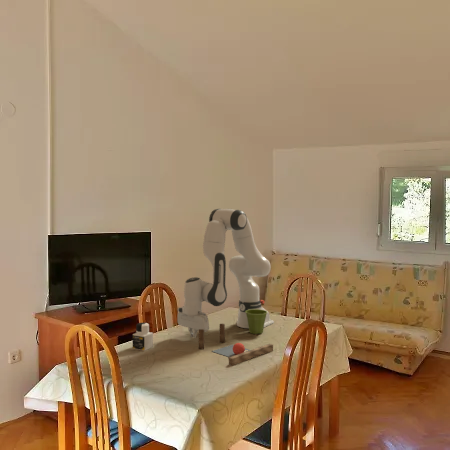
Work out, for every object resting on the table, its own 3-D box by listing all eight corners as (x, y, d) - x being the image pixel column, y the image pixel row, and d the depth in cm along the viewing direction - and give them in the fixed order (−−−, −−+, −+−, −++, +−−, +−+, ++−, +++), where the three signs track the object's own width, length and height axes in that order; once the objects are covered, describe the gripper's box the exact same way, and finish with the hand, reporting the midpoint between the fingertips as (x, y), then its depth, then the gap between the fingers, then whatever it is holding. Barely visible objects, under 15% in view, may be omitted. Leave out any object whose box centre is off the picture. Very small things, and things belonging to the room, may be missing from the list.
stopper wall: (269, 349, 238) (269, 343, 238) (273, 350, 237) (273, 344, 237) (228, 364, 218) (228, 357, 218) (232, 365, 217) (232, 358, 217)
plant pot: (268, 335, 262) (268, 314, 261) (245, 335, 262) (245, 314, 261) (266, 329, 274) (266, 309, 273) (245, 329, 274) (245, 309, 273)
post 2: (222, 340, 253) (222, 323, 252) (225, 342, 251) (225, 324, 250) (218, 342, 251) (218, 324, 250) (222, 343, 249) (222, 325, 249)
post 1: (201, 347, 243) (201, 328, 242) (205, 348, 241) (205, 329, 240) (197, 348, 241) (197, 330, 240) (201, 349, 239) (201, 331, 238)
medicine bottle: (132, 348, 241) (131, 324, 240) (141, 344, 247) (141, 320, 246) (144, 351, 237) (144, 326, 236) (153, 346, 244) (153, 322, 243)
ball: (238, 352, 235) (236, 340, 234) (247, 353, 231) (246, 341, 231) (231, 356, 230) (229, 344, 230) (240, 357, 227) (239, 345, 227)
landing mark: (232, 345, 246) (232, 344, 246) (253, 351, 236) (253, 350, 236) (211, 351, 236) (211, 351, 236) (233, 358, 226) (233, 358, 226)
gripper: (211, 312, 249) (212, 339, 249) (184, 305, 263) (184, 331, 264) (202, 314, 244) (202, 342, 245) (175, 307, 258) (175, 334, 259)
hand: (193, 336), depth 254 cm, fingers closed
